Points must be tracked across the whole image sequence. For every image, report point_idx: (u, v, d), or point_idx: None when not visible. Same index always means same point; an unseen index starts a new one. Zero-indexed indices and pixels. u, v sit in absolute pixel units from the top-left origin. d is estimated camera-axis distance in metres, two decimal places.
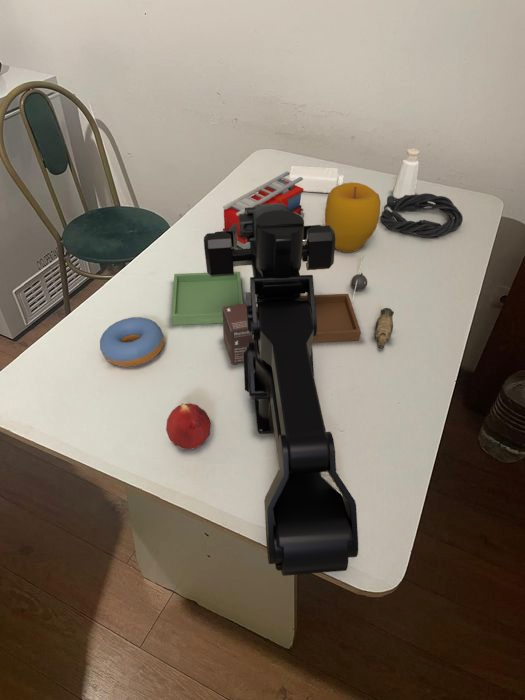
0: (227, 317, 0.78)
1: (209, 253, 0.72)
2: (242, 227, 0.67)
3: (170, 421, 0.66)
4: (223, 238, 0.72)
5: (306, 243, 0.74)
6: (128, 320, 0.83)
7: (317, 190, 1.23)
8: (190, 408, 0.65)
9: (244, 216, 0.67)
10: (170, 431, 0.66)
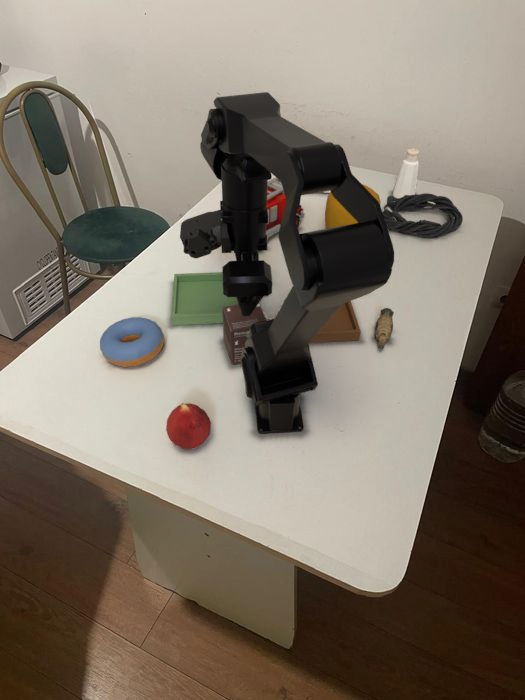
0: (227, 317, 0.78)
1: (236, 276, 0.63)
2: (192, 235, 0.64)
3: (170, 421, 0.66)
4: None
5: None
6: (128, 320, 0.83)
7: None
8: (190, 408, 0.65)
9: (187, 244, 0.65)
10: (170, 431, 0.66)
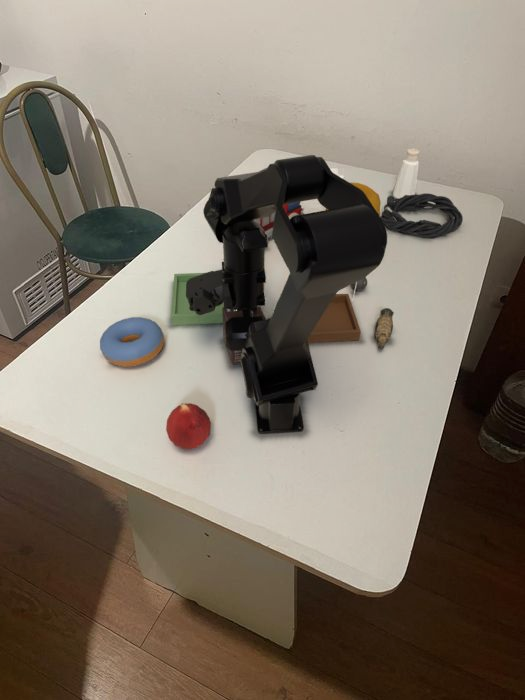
0: (227, 317, 0.78)
1: (238, 332, 0.70)
2: (197, 296, 0.71)
3: (170, 421, 0.66)
4: (225, 329, 0.72)
5: None
6: (128, 320, 0.83)
7: None
8: (190, 408, 0.65)
9: None
10: (170, 431, 0.66)
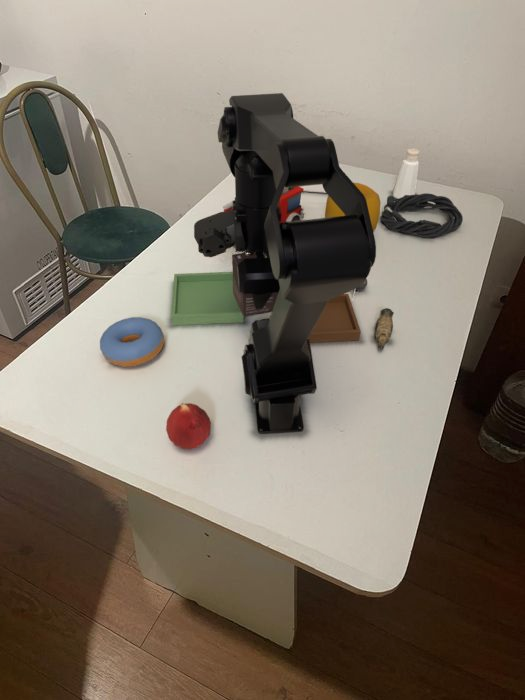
0: None
1: (252, 273, 0.64)
2: (208, 234, 0.65)
3: (170, 421, 0.66)
4: None
5: None
6: (128, 320, 0.83)
7: (317, 190, 1.23)
8: (190, 408, 0.65)
9: (202, 243, 0.66)
10: (170, 431, 0.66)
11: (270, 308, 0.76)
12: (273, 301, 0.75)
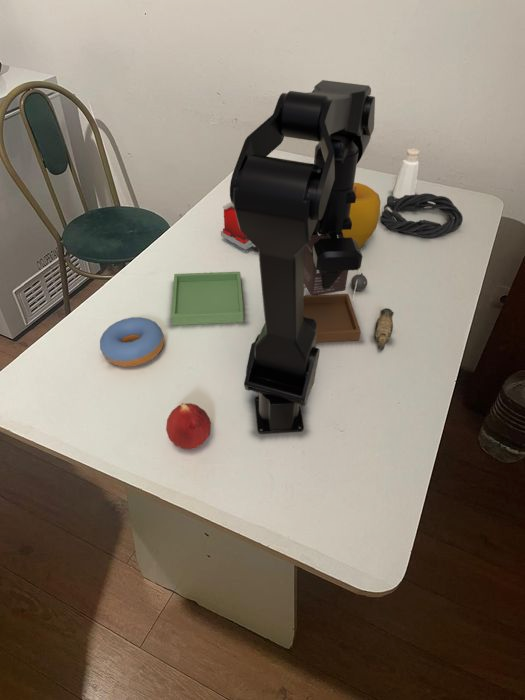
0: (308, 245, 0.77)
1: (330, 251, 0.68)
2: None
3: (170, 421, 0.66)
4: (314, 250, 0.70)
5: None
6: (128, 320, 0.83)
7: None
8: (190, 408, 0.65)
9: None
10: (170, 431, 0.66)
11: (336, 287, 0.80)
12: (339, 281, 0.79)
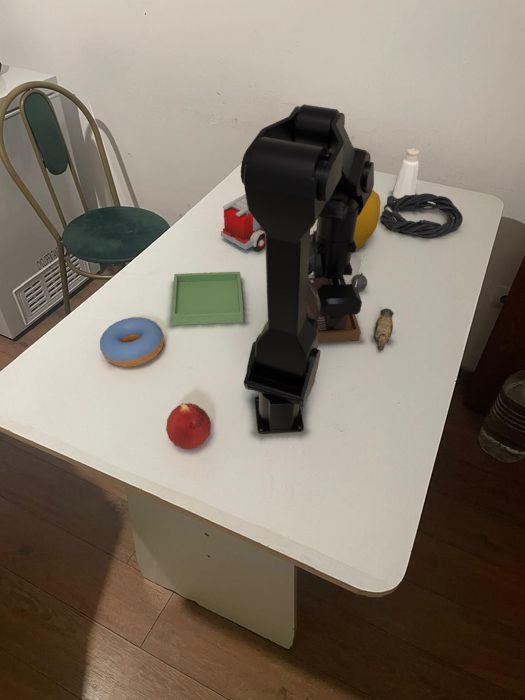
0: (312, 287, 0.83)
1: (332, 298, 0.75)
2: None
3: (170, 421, 0.66)
4: (318, 295, 0.77)
5: None
6: (128, 320, 0.83)
7: None
8: (190, 408, 0.65)
9: None
10: (170, 431, 0.66)
11: (337, 325, 0.86)
12: None
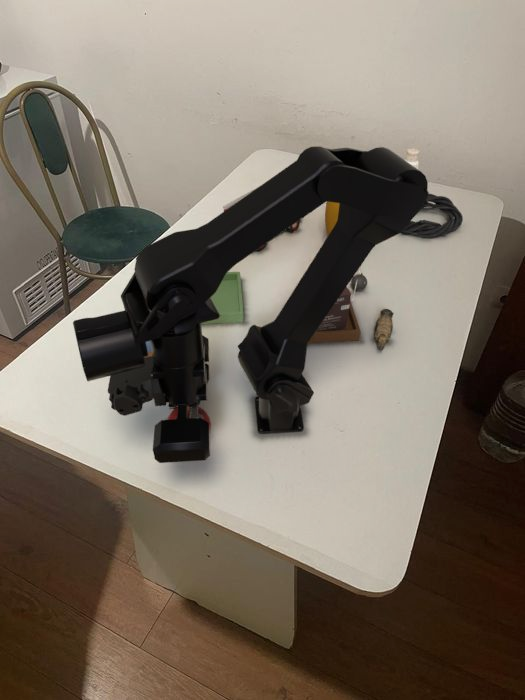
0: None
1: (167, 443, 0.56)
2: (119, 395, 0.57)
3: None
4: (154, 434, 0.58)
5: None
6: None
7: None
8: None
9: None
10: None
11: (337, 325, 0.86)
12: (340, 320, 0.86)
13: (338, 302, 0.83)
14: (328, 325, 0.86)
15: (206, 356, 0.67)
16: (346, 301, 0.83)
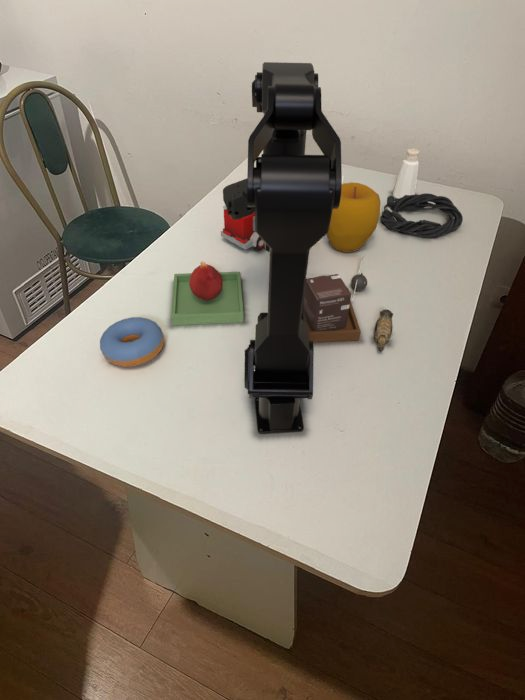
0: (312, 287, 0.83)
1: None
2: (237, 196, 0.70)
3: (192, 276, 0.88)
4: None
5: None
6: (128, 320, 0.83)
7: None
8: (208, 265, 0.87)
9: (231, 205, 0.71)
10: (192, 283, 0.88)
11: (337, 325, 0.86)
12: (340, 320, 0.86)
13: (338, 302, 0.83)
14: (328, 325, 0.86)
15: None
16: (346, 301, 0.83)
